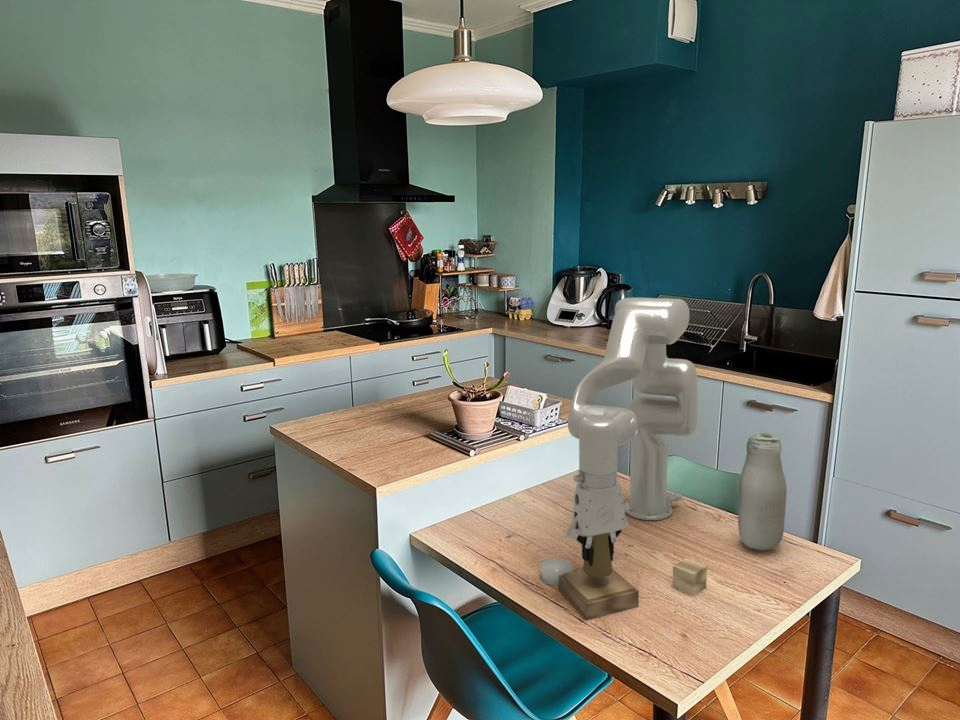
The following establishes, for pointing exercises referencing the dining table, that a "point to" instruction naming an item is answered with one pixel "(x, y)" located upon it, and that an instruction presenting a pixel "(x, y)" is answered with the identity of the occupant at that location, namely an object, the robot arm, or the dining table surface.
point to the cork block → (689, 576)
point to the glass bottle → (762, 494)
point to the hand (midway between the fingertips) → (597, 559)
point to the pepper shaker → (599, 557)
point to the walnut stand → (598, 593)
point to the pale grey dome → (554, 570)
